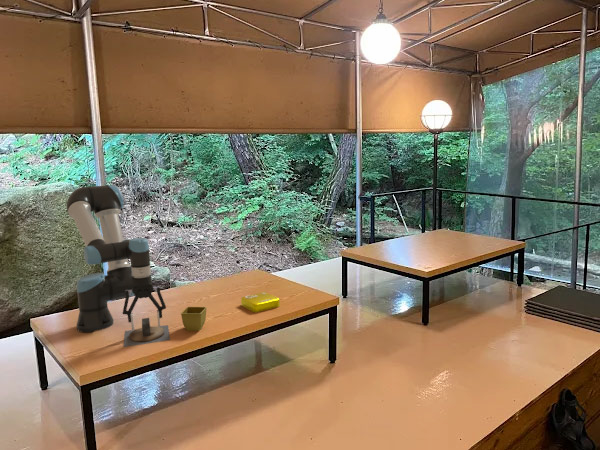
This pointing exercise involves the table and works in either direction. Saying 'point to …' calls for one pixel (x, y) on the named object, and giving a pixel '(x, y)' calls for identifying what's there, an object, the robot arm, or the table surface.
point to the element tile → (260, 302)
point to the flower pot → (194, 318)
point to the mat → (164, 338)
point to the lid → (146, 332)
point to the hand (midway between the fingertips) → (146, 327)
